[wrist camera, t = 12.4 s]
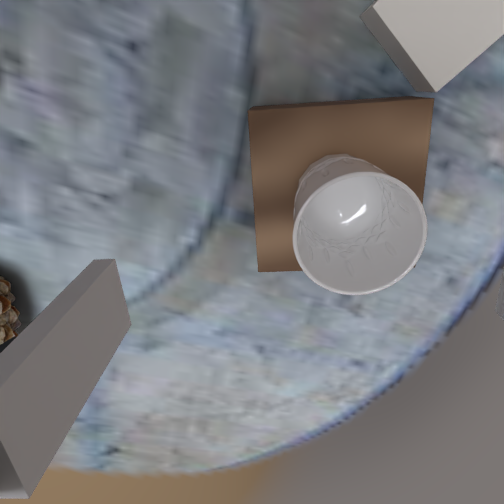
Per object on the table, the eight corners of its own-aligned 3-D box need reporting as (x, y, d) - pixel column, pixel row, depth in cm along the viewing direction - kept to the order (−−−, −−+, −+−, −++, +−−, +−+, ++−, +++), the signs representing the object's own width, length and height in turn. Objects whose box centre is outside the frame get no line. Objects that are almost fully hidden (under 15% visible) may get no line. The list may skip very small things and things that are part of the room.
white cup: (402, 167, 31) (454, 202, 22) (357, 250, 34) (386, 312, 25) (312, 130, 30) (326, 150, 21) (274, 219, 33) (273, 270, 24)
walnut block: (252, 106, 35) (247, 110, 30) (409, 96, 34) (434, 98, 29) (261, 246, 41) (258, 272, 36) (396, 242, 40) (415, 267, 34)
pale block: (358, 17, 32) (372, 6, 28) (442, -68, 30) (472, -95, 25) (415, 91, 34) (436, 92, 30) (498, 17, 32) (535, 6, 27)
